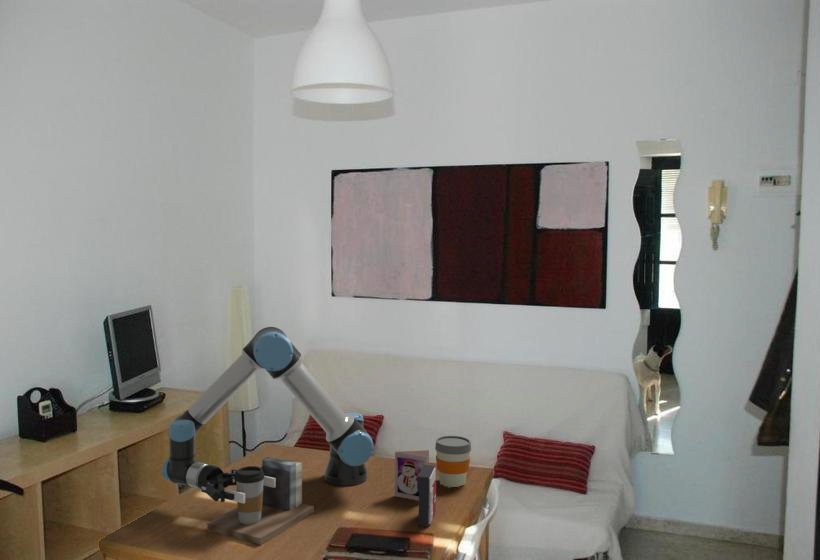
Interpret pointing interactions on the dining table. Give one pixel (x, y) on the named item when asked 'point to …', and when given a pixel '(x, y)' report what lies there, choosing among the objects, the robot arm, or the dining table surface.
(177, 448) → the robot arm
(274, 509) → the block on wooden base
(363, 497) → the dining table surface
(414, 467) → the greeting card
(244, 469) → the coffee cup
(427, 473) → the dark grey box
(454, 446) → the reusable coffee cup
